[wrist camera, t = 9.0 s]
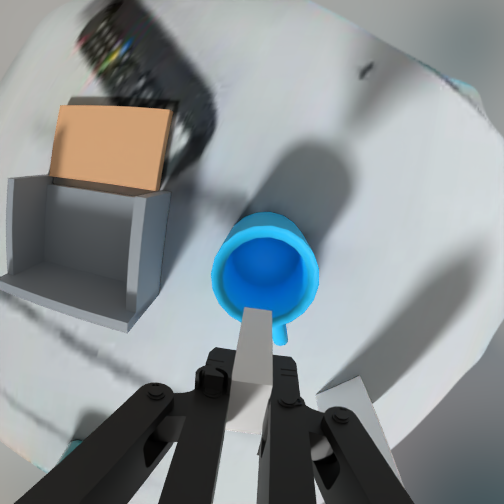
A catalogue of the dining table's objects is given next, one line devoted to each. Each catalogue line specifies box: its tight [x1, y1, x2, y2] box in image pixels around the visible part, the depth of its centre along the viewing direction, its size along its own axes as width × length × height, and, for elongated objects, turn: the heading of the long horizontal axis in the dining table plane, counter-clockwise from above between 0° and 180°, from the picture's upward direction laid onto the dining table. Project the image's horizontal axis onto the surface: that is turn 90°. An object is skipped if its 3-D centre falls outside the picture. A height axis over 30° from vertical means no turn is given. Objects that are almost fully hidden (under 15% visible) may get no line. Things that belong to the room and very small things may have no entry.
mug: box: [211, 212, 319, 346], centre depth 28 cm, size 12×8×8 cm
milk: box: [316, 376, 405, 489], centre depth 25 cm, size 6×6×22 cm
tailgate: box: [49, 105, 173, 191], centre depth 29 cm, size 13×1×8 cm
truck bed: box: [0, 175, 171, 333], centre depth 28 cm, size 16×11×9 cm
